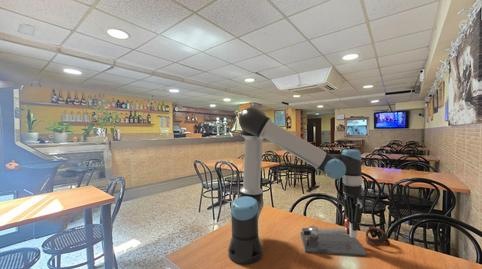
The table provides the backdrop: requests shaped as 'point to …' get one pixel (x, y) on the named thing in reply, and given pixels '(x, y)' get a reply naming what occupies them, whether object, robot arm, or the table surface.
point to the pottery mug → (381, 236)
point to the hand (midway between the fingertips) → (353, 236)
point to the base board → (333, 244)
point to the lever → (326, 230)
